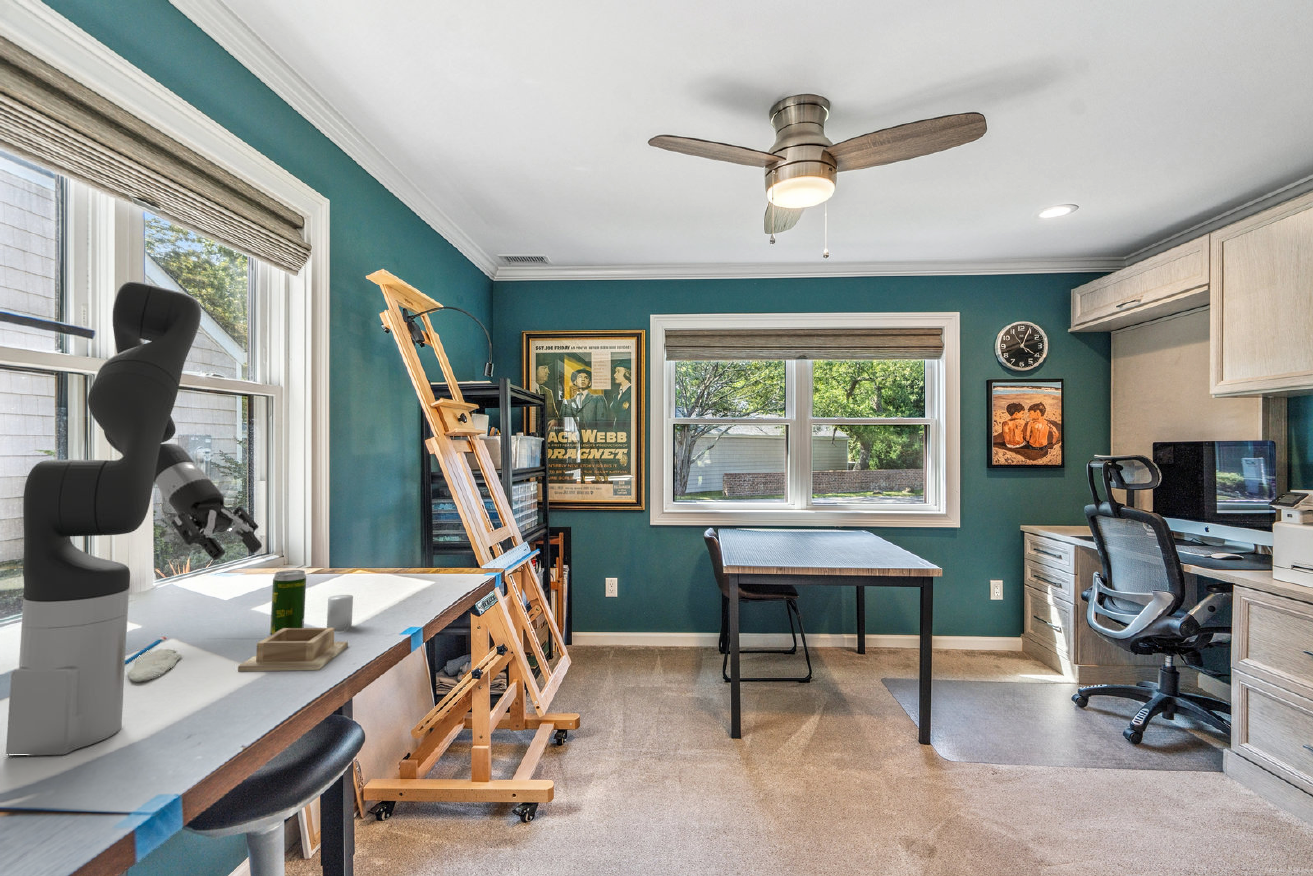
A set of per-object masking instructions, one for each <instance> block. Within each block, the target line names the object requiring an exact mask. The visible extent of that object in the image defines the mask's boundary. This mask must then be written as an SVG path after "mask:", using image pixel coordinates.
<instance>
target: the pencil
mask: <svg viewBox="0 0 1313 876" xmlns="http://www.w3.org/2000/svg"><path fill="white" fill-rule="evenodd" d="M165 640H167V637H166V636H161V637H160V638H159V639H156V640H155V641H154V642H152V643H151V644H149V645H148V646H146V647H145V648H143V649H141V650H140V651H138V652H137V653H135V654H134V655H132V656H130V657H129V658H127V659H125V664H127V665H128V664H130V663H132V662H133V661H134V660H136V659H138V658H139V657H140V656H139V655H142V654H143V653H146V651H147V650H148V651H150V650H152V649H153V648H155V647H156V646H158V645H159V644H161V643H162V642H164V641H165ZM161 641H162V642H161ZM160 642H161V643H160ZM154 646H155V647H154ZM148 651H147V652H148ZM138 656H139V657H138ZM137 657H138V658H137ZM135 658H136V659H135ZM133 659H134V660H133ZM132 660H133V661H132ZM129 662H130V663H129Z"/></svg>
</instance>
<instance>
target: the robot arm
mask: <svg viewBox="0 0 1313 876" xmlns="http://www.w3.org/2000/svg"><path fill="white" fill-rule="evenodd" d="M201 320H202V307H201V305H200V302H199V301H198V299H197V298H195V297H194V296H192V295H190V294H187V293H185V292H182V291H177V290H173V289H169V288H166V287H165V288H164V287H163V286H157V285H153V284H150V283H144V282H140V281H132V280H129V281H125V282H124V283H122V284H121V285H120V287H119V289H118V290H117V293H116V295H115V299H114V301H113V306H112V327H113V328H112V330H113V334H114V335H113V336H114V341H115V349H116V354H115V355H114V356H112V357H110V358H109V359H107V360H106V361H105V362H104V363H103V364H102V365H101V366H100V368H99V370H98V372H97V374H96V377H95V379H94V381H93V383H92V386H91V388H90V389H89V393H88V396H87V404H88V409H89V411H90V413H91V415H92V417H93V419H94V420H95V422H96V423H97V424H98V425H99V427H100V428H101V429H102V430H103V433H104V437H105V439H106V441H107V442H108V443H109V445H110V446H111V447H112V448H114V450H115V451H117V452H119V453H120V454H121V455H122V456H121V457H120V459H116V460H114V459H113V460H108V459H105V460H103V459H100V460H99V459H45V460H42V461H40V462H38V463H37V464H35V465H34V466H33V467H32V468H31V470H30V472H29V473H28V475H27V478H26V482H25V484H24V491H23V506H22V507H23V508H22V511H23V512H22V513H23V562H22V563H23V564H22V571H23V572H22V574H23V575H22V577H23V596H22V597H23V600H22V616H21V628H20V643H19V645H20V646H19V659H18V660H19V662H18V668H15V669H13V670H12V671H11V674H10V683H9V686H10V687H9V697H8V698H9V701H8V702H9V703H8V713H7V715H8V717H7V733H6V744H5V745H6V748H5V755H6V754H8V755H9V754H34V755H33V756H52V755H54V756H57V755H67V754H69V753H71V752H73V751H75V750H77V749H80V748H85V747H87V746H91V745H94V744H96V743H99V742H101V741H104V740H105V739H108V738H110V737H111V736H113V735H115V734H116V733H118V732H119V731H120V729H121V728H122V726H123V725H122V724H123V723H122V722H123V706H124V690H125V688H124V687H125V671H126V670H125V669H126V665H125V660H126V654H127V653H126V651H127V634H128V617H129V604H130V585H131V583H130V582H131V571H130V568H129V566H128V565H126V564H124V563H121V562H118V561H115V560H110V559H105V558H100V557H97V556H94V555H91V554H88V553H87V552H85V551H82V550H81V549H79V548H77V547H76V546H75V545H74V544H73V542H72V539H71V537H95V536H96V537H97V536H116V535H117V536H118V535H125V534H126V535H127V534H130V533H132V532H136V531H137V530H138V529H139V528H140V527H141V525H142V524H143V523H144V521H145V518H146V517H147V514H148V511H149V507H150V504H151V499H152V494H153V487H154V483H155V485H156V486H157V487H158V489H159V491H160V493H161V494H162V496H163V497H164V498H165V500H166V501H167V502H168V503H169V504H170V506H171V507H172V508H173V510H174V511H175V512H176V514H177V515H176V516H175V517H174V518H173V519H172V520H171V524H172V525H173V527H174V528H175V529H176V531H177V532H178V534H179V535H180V537H181V538H182V540H183V541H184V542H185V544H187V545H188V546H192V545H193V544H196V545H197V546H199V547H202V549H203V550H204V551H205V552H206V553H207V555H208V556H209V557H210V558H211V559H212V560H213V561H216V560H220V559H221V558H222V557H223V556H224V555H225V554H226V550H225V549H224V547H222V546H221V544H220V542H218V541H217V540H218V539H216V538H215V537H212V536H213V534H217V533H224V534H226V535H229V536H235V537H236V538H238V539H240V540H241V542H242V544H244V545H245V547H246V548H247V549H248V551H249V552H250V553H252V554H255V553H257V552H258V551H259V550H260V549H262V545H263V544H262V543H261V540H260V539H258V538H257V536H256V535H255V534H254V532H256V530H257V529H259V525H258V523H256V522H255V520H254V519H253V518H252V517H251V515H249V514H248V512H247V511H246V510H245V509H244V508H243V507H242V506H239V505H238V506H237V507H236V508H235V509H230V508H228V507H227V506H225V504H224V503H225V501H224V500H225V496H224V495H223V494H222V492H221V491H220V490H219V488H218V487H217V486H216V485H215V484H214V483H213V481H212V480H211V478H209V476H208V475H207V474H206V473H205V472H204V471H203V469H201V468H200V467H199V466H198V465H197V464H196V463H195V462H194V460H193V459H192V458H191V456H190V455H189V454H188V453H187V452H186V450H185V449H184V448H183V447H182V446H180V445H179V444H177V443H166V442H168V441H170V440H171V439H172V438H173V437H174V436H175V434H176V430H177V429H176V425H175V424H176V423H175V422H174V420H173V418H172V415H171V414H172V412H173V411H174V410H173V409H174V407H175V403H176V400H177V397H178V393H179V388H180V383H181V378H182V374H183V370H184V366H185V362H186V360H187V357H188V355H189V352H190V351H191V348H192V345H193V343H194V341H195V339H196V336H197V334H198V331H199V328H200V325H201ZM143 340H144V341H148V342H146V343H144V341H143ZM233 523H234V525H233V526H232V524H233ZM247 524H248V525H247ZM231 526H232V527H231ZM238 529H240V530H241V531H240V530H238ZM190 533H191V534H190Z"/></svg>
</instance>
